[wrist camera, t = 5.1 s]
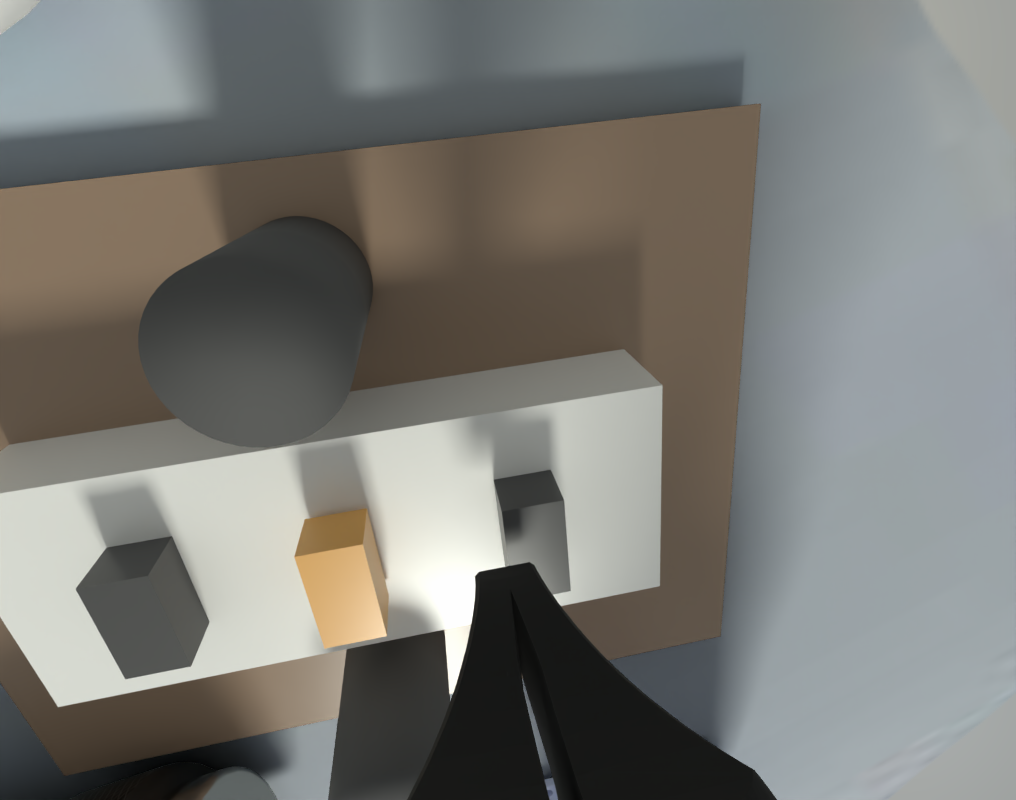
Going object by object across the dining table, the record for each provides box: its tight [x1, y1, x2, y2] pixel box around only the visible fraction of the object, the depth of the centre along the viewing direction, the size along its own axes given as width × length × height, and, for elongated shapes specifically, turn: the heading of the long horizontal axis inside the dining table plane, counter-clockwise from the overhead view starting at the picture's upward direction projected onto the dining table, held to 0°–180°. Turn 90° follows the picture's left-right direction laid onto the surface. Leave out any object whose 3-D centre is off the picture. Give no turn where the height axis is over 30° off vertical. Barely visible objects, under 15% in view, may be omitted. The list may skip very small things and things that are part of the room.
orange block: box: [294, 508, 389, 649], centre depth 15 cm, size 2×3×2 cm, turn 6°
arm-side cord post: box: [328, 630, 450, 800], centre depth 19 cm, size 4×4×6 cm
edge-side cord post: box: [138, 216, 373, 448], centre depth 13 cm, size 4×4×6 cm
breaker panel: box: [0, 104, 761, 776], centre depth 17 cm, size 26×20×6 cm
